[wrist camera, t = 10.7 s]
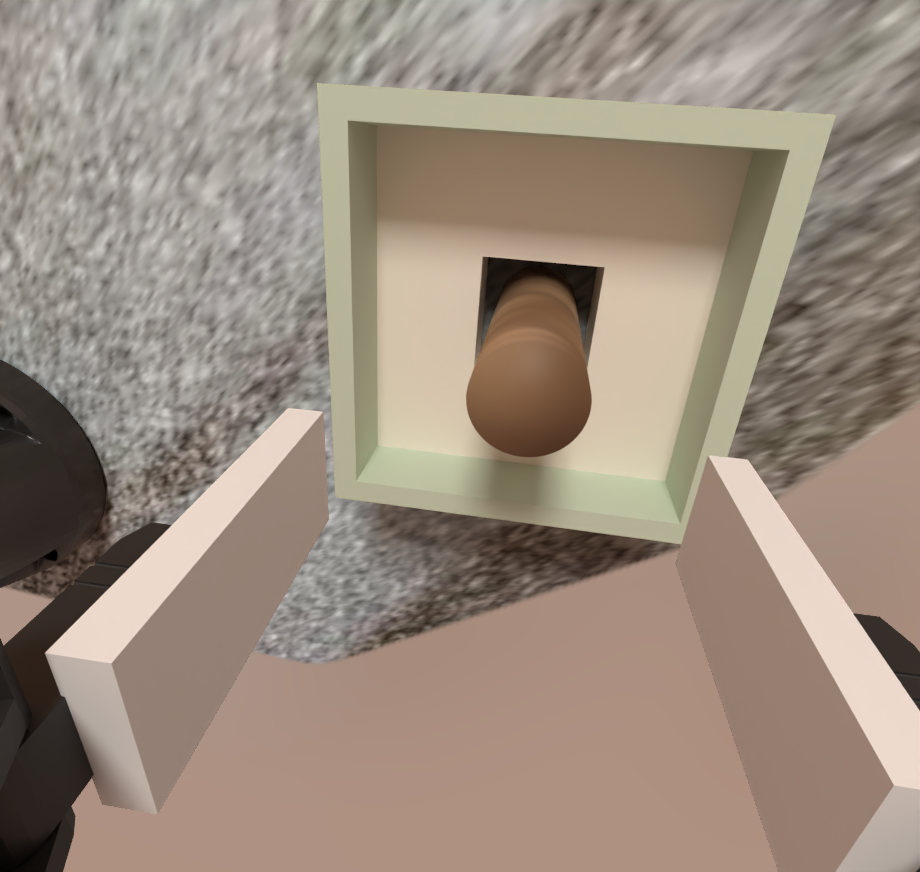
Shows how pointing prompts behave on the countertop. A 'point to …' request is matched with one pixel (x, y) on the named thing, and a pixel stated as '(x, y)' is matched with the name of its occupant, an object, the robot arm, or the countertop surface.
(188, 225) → the countertop surface
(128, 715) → the robot arm
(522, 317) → the peg
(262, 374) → the countertop surface
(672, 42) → the countertop surface
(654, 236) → the peg box
